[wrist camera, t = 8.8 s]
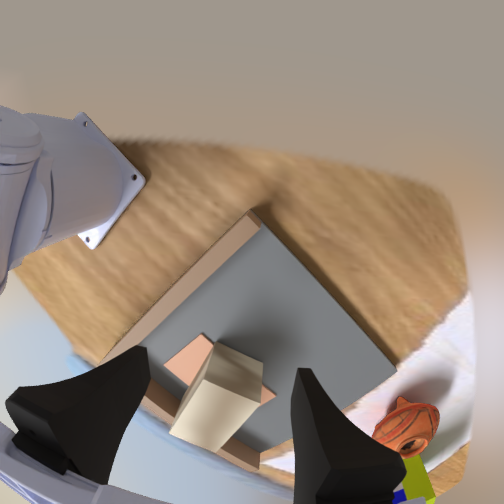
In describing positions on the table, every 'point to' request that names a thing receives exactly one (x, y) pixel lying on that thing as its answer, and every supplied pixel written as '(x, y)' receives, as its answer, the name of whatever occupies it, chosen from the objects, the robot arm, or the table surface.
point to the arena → (254, 335)
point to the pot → (408, 428)
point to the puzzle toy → (414, 483)
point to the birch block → (219, 398)
